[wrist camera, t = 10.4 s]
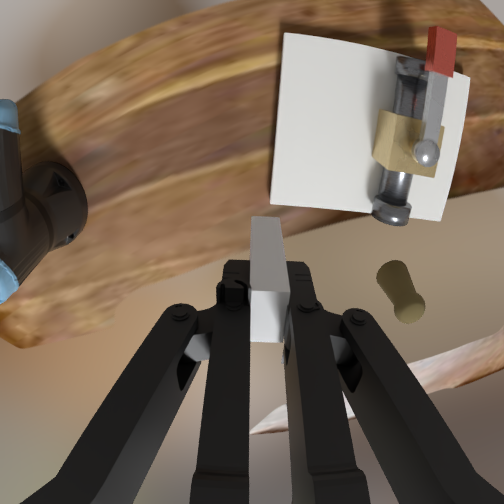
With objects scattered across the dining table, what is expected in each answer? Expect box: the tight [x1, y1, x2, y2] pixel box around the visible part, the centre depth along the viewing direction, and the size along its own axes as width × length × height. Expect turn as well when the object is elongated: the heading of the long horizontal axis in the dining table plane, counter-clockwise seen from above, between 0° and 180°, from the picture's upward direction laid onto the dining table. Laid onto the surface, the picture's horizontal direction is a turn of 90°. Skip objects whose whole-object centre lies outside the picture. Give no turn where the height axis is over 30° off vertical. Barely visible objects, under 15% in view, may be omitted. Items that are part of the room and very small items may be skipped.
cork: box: [376, 260, 425, 324], centre depth 49 cm, size 6×6×11 cm
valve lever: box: [411, 26, 457, 167], centre depth 29 cm, size 17×3×2 cm, turn 176°
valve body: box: [371, 56, 445, 226], centre depth 37 cm, size 7×22×8 cm, turn 176°
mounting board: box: [270, 33, 470, 221], centre depth 41 cm, size 28×24×2 cm
